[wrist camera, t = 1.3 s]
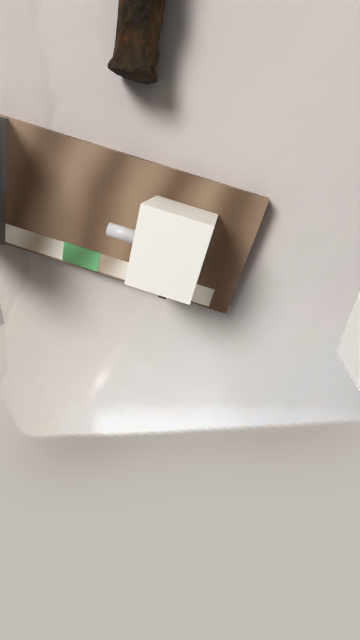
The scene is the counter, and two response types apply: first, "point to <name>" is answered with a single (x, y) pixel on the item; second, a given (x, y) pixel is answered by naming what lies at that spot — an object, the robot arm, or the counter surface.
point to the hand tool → (137, 40)
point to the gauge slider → (166, 247)
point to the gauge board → (112, 206)
